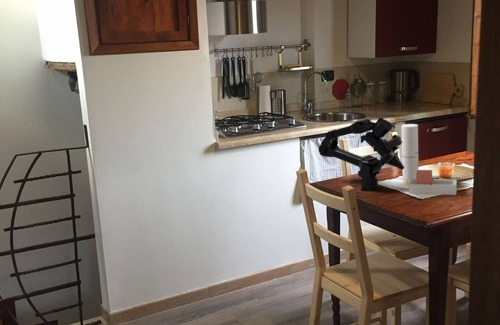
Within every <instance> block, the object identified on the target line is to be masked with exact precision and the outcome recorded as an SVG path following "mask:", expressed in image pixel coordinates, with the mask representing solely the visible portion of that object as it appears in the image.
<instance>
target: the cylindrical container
mask: <svg viewBox="0 0 500 325" xmlns="http://www.w3.org/2000/svg"><path fill="white" fill-rule="evenodd" d="M401 140H402V143H401V159H402V160H401V162H402V164H403V166H404V169H401V171H402V180H404V181H411V179H416V173H417V170H419V124H416V123H407V124H406V123H405V124H402V125H401Z"/></svg>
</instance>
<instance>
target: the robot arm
mask: <svg viewBox="0 0 500 325" xmlns="http://www.w3.org/2000/svg"><path fill="white" fill-rule="evenodd" d="M392 128H393V126H392V124H391V122H390V121H389V120H387V119H386V118H385V119H384V117H379V118H378V119H377V120H376V121H375V122H374V121H371V119H369V118H364V119H360V120H357V121H355V122H353V123H351V124H350V125H348V126H344V127H341V128H337V129H332V130H328V131H327V133H326V135H325V136H324V138H323V139H322V141H321V142H320V144H319V146H318V152H319V155H320V156H321V157H325V158H335V159H339V160H341V161H344V162H346V163H348V164H351V165H353V166H355V167H357V168H359V170H358V172H357V175H358V177H359V178H361V188H360V191H371V192H372V191H376V190H378V188H379V177H378V176H377V175H379V174H380V171H381V170H382V167H383V166H384V165H388V166H392V167H395V168H397V169H400V170H402V169H404V166H403V164H402V160H401V159H400V158H399V151H398V149H399V148H400V146H402V136H401V137H400V135H397V134H394V135H392V136H391V139H389V140H387V139H386V138H384V137H385V136H386V135H387V134H389V132H390V131H391V130H392ZM353 134H354V135H360V134H362V135H361V136H360V144H363V143H364V142H365V143H367V144H368V145H369V147H371V148H372V149H373V150H372V151H373V152H374V153H375V152H376V153H377V154H378V155H379V158H380V159H378V157H376V156H373V155H370V154H368V155H365V156H361V155H358V154H355V153H352V152H351V151H347V150H345V149H342V148H340V146H339V145H338V144H339V138H340V137H343V136H348V135H353ZM383 138H384V139H383Z"/></svg>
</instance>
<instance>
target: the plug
mask: <svg viewBox="0 0 500 325" xmlns="http://www.w3.org/2000/svg"><path fill="white" fill-rule="evenodd" d="M432 179H433V169H418V170H417V173H416V184H432Z"/></svg>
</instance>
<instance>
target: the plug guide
mask: <svg viewBox="0 0 500 325" xmlns="http://www.w3.org/2000/svg"><path fill="white" fill-rule="evenodd" d="M457 184H458V182H457V179H443V178H440V179H437V178H436V179H435V178H432V184H416V179H411V180H410V183H408V194H412V195H413V194H416V195H417V194H418V195H445V196H446V195H447V196H449V195H451V196H455V195H457V187H458V186H457Z"/></svg>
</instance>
